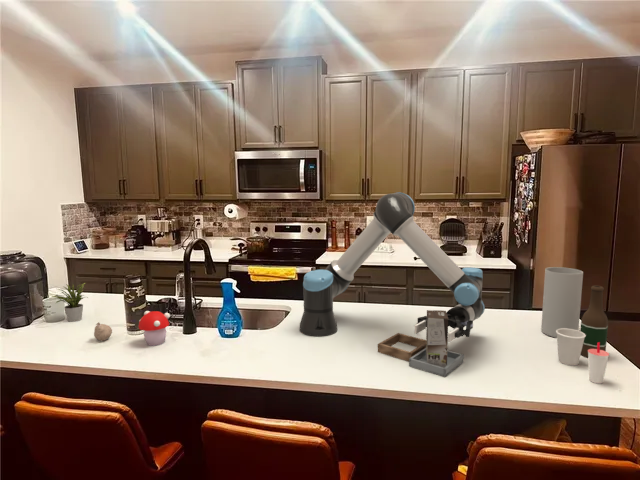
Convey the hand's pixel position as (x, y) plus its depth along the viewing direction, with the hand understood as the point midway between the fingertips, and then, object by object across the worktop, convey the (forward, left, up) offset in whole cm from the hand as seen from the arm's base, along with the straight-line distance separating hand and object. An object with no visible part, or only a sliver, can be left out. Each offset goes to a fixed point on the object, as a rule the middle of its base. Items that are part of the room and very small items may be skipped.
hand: (431, 333), depth 134 cm
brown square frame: (-13, +7, -11) cm, 19 cm away
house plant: (-141, -53, -12) cm, 152 cm away
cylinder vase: (+25, +60, -12) cm, 66 cm away
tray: (0, +4, -11) cm, 12 cm away
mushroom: (-88, -45, -12) cm, 100 cm away
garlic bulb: (-106, -56, -12) cm, 121 cm away
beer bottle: (+38, +44, -12) cm, 59 cm away
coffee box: (0, +4, -11) cm, 12 cm away
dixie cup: (+33, +33, -12) cm, 48 cm away
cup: (+42, +23, -12) cm, 49 cm away
